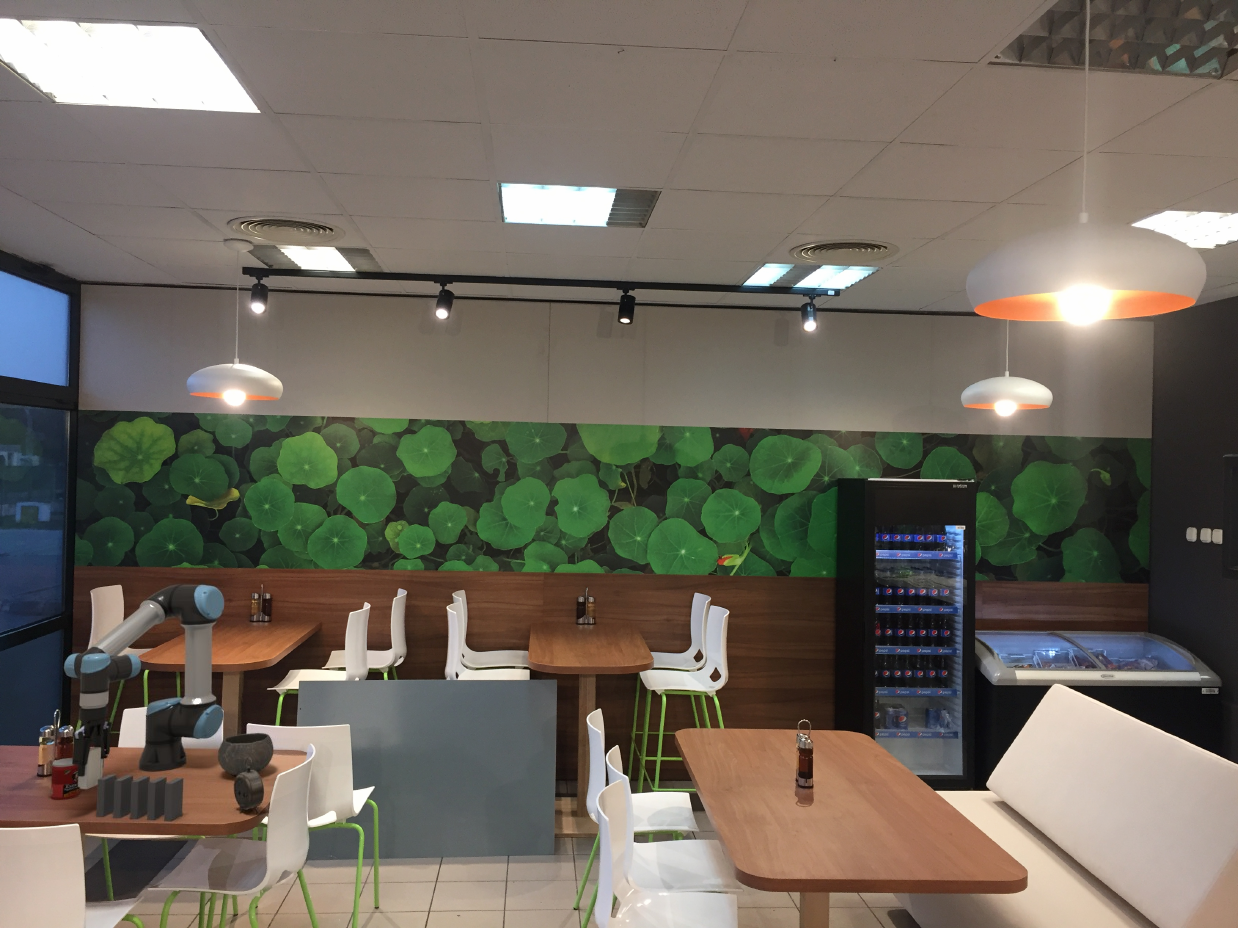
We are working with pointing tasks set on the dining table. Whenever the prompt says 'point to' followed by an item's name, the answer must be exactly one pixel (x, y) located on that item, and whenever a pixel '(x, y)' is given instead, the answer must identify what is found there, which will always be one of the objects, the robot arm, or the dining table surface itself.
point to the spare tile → (93, 767)
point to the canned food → (64, 779)
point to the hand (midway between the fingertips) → (90, 783)
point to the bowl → (245, 752)
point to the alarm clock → (249, 789)
